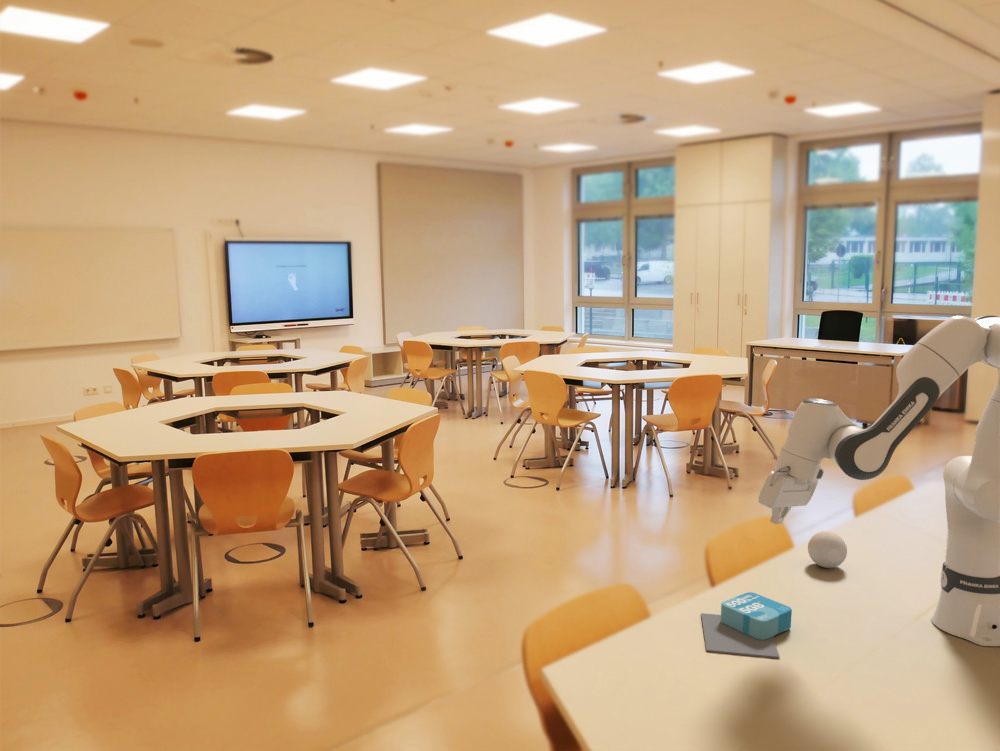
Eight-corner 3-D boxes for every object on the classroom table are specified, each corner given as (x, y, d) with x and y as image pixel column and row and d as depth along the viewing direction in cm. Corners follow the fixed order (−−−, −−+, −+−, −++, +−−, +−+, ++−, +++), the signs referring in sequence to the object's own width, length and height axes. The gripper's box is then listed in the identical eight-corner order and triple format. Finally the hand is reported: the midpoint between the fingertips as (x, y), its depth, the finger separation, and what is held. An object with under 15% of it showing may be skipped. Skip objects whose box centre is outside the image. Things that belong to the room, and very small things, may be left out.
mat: (767, 620, 181) (767, 619, 181) (779, 658, 163) (779, 656, 163) (701, 614, 184) (701, 613, 184) (706, 651, 166) (706, 649, 166)
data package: (763, 622, 169) (718, 603, 179) (761, 641, 170) (717, 621, 179) (794, 608, 176) (750, 590, 186) (793, 627, 177) (749, 608, 186)
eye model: (836, 559, 219) (839, 526, 217) (852, 574, 209) (854, 538, 207) (801, 559, 219) (803, 525, 217) (814, 573, 209) (817, 538, 207)
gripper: (790, 472, 164) (768, 531, 166) (827, 472, 179) (806, 526, 181) (763, 461, 168) (742, 519, 170) (801, 461, 183) (782, 514, 185)
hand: (775, 522), depth 176 cm, fingers closed
